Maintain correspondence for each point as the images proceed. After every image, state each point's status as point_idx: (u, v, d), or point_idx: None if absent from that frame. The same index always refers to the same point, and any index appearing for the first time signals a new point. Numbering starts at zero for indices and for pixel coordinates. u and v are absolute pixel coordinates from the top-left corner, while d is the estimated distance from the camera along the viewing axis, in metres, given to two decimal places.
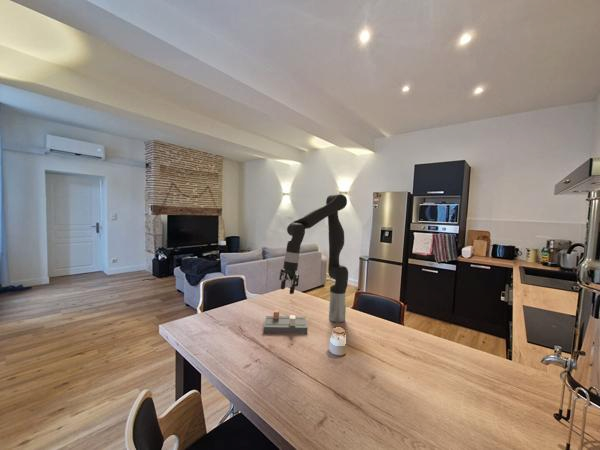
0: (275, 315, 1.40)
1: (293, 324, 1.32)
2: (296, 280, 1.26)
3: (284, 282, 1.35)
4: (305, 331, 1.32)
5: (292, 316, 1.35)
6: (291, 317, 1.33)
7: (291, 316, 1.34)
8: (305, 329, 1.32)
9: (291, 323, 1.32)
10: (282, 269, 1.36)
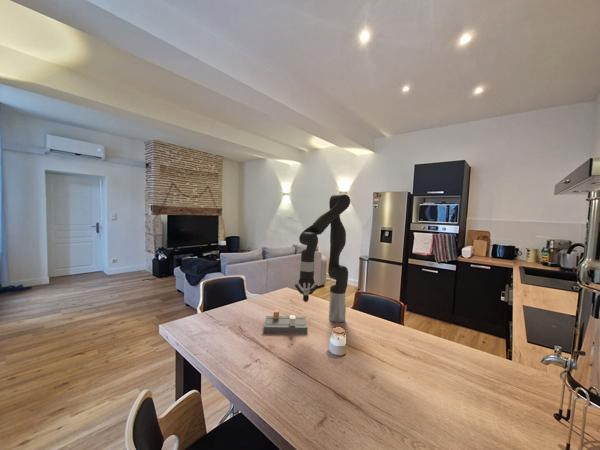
0: (275, 315, 1.40)
1: (293, 324, 1.32)
2: None
3: None
4: (305, 331, 1.32)
5: (292, 316, 1.35)
6: (291, 317, 1.33)
7: (291, 316, 1.34)
8: (305, 329, 1.32)
9: (291, 323, 1.32)
10: (295, 284, 1.33)
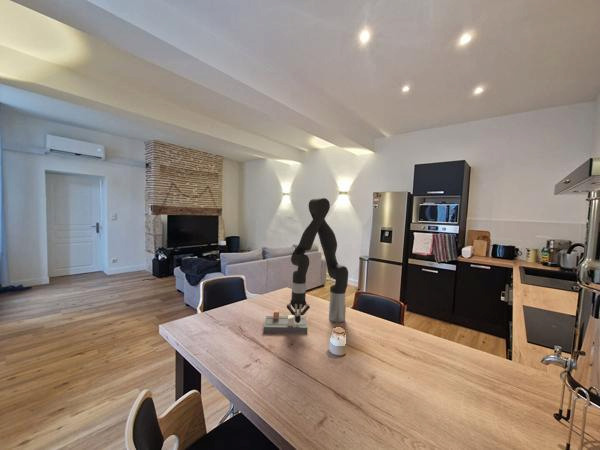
0: (275, 315, 1.40)
1: (291, 324, 1.32)
2: None
3: (298, 314, 1.35)
4: (305, 331, 1.32)
5: (290, 316, 1.35)
6: (289, 317, 1.33)
7: (290, 316, 1.34)
8: (305, 329, 1.32)
9: (289, 323, 1.32)
10: (287, 305, 1.33)
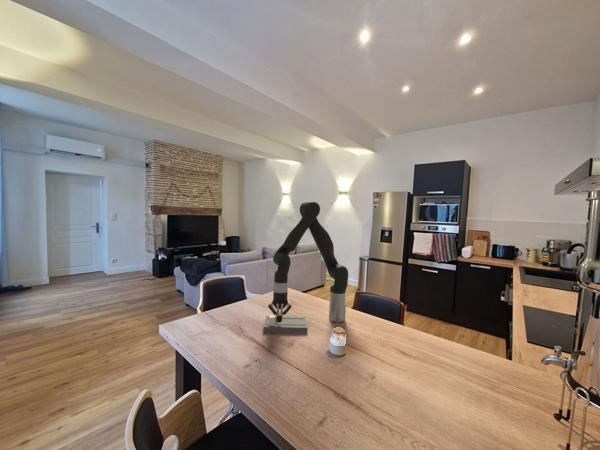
0: None
1: (273, 324, 1.32)
2: None
3: (280, 313, 1.34)
4: (305, 331, 1.32)
5: (272, 316, 1.34)
6: (271, 317, 1.33)
7: (271, 316, 1.34)
8: (305, 329, 1.32)
9: (271, 323, 1.32)
10: (269, 305, 1.32)
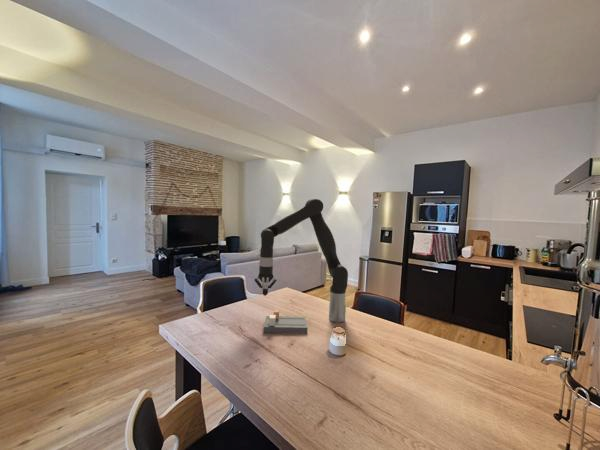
0: None
1: (273, 324, 1.32)
2: (273, 283, 1.41)
3: None
4: (305, 331, 1.32)
5: (272, 316, 1.34)
6: (271, 317, 1.33)
7: (271, 316, 1.34)
8: (305, 329, 1.32)
9: (271, 323, 1.32)
10: (255, 278, 1.39)
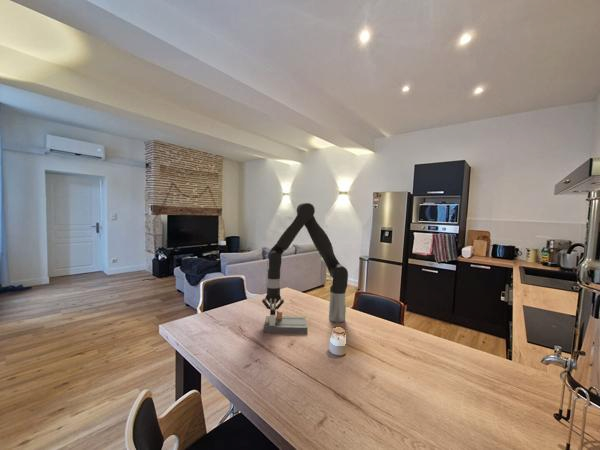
0: (278, 315, 1.40)
1: (273, 324, 1.32)
2: (281, 304, 1.42)
3: None
4: (305, 331, 1.32)
5: (272, 316, 1.34)
6: (271, 317, 1.33)
7: (271, 316, 1.34)
8: (305, 329, 1.32)
9: (271, 323, 1.32)
10: (262, 300, 1.40)
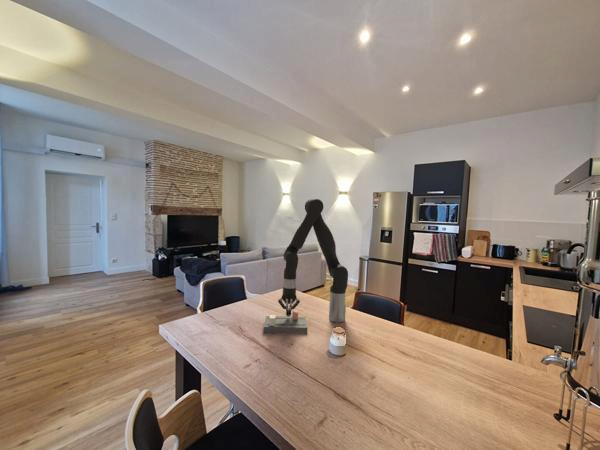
0: (294, 315, 1.40)
1: (273, 324, 1.32)
2: None
3: (289, 308, 1.43)
4: (305, 331, 1.32)
5: (272, 316, 1.34)
6: (271, 317, 1.33)
7: (271, 316, 1.34)
8: (305, 329, 1.32)
9: (271, 323, 1.32)
10: (278, 300, 1.41)
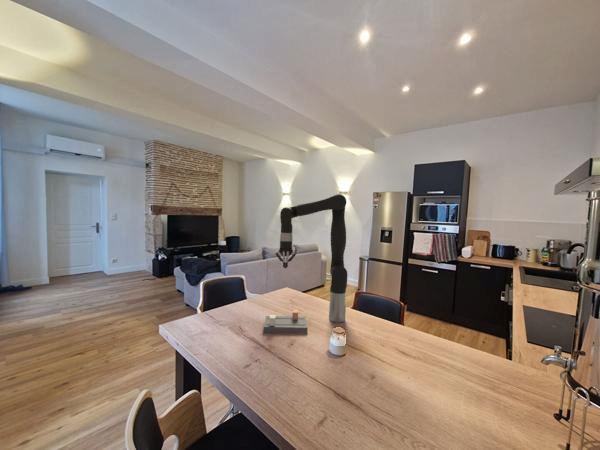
0: (294, 315, 1.40)
1: (273, 324, 1.32)
2: (293, 257, 1.54)
3: None
4: (305, 331, 1.32)
5: (272, 316, 1.34)
6: (271, 317, 1.33)
7: (271, 316, 1.34)
8: (305, 329, 1.32)
9: (271, 323, 1.32)
10: (276, 252, 1.52)
